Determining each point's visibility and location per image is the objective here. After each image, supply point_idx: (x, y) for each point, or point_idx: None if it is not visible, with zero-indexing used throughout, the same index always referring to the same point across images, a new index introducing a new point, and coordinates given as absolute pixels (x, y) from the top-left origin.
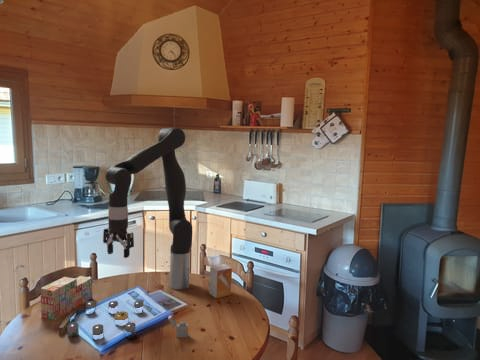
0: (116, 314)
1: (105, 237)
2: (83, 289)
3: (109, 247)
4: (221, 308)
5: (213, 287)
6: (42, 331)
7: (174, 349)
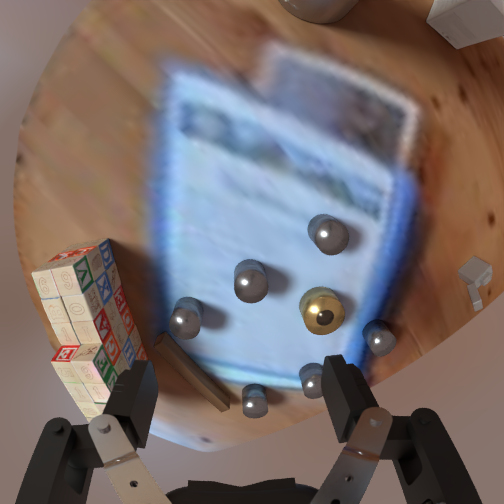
0: (311, 324)
1: (85, 502)
2: (101, 300)
3: (147, 433)
4: (488, 103)
5: (462, 31)
6: (182, 406)
7: (465, 310)
